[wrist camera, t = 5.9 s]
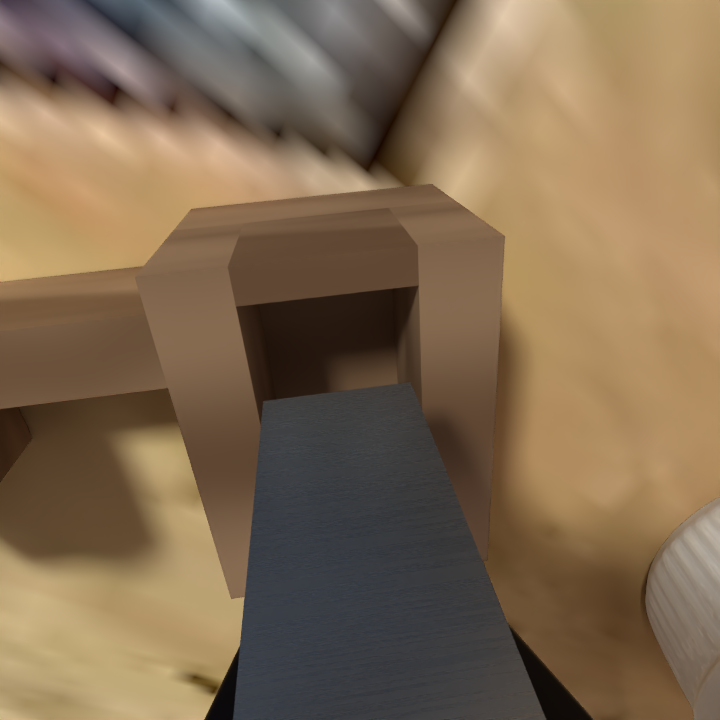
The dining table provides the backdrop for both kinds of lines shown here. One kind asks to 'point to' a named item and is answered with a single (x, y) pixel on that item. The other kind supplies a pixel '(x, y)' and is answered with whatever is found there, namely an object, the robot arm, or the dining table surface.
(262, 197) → the dining table surface
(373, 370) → the wooden hollow frame
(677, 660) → the ramekin
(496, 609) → the tall grey upright block
